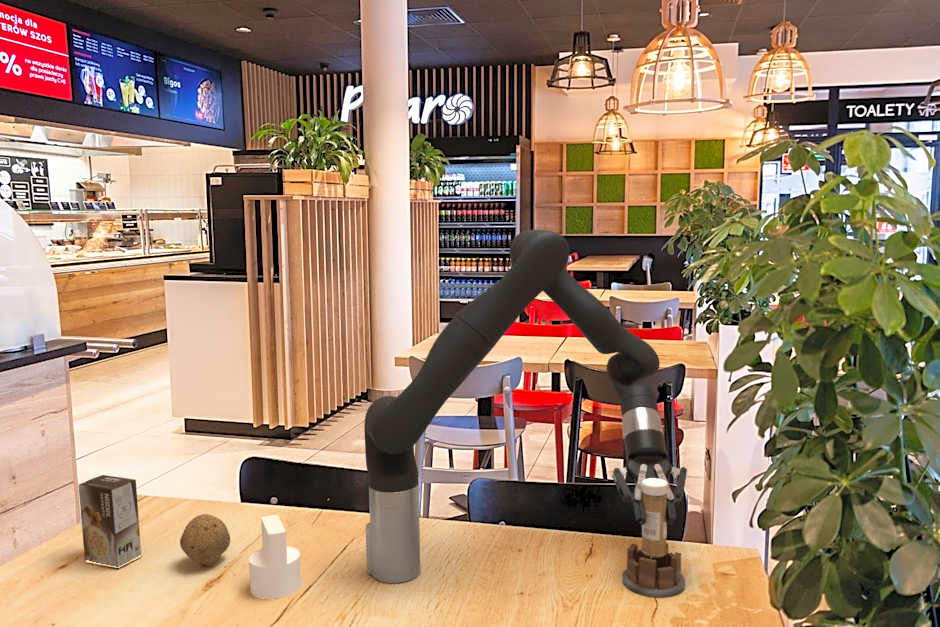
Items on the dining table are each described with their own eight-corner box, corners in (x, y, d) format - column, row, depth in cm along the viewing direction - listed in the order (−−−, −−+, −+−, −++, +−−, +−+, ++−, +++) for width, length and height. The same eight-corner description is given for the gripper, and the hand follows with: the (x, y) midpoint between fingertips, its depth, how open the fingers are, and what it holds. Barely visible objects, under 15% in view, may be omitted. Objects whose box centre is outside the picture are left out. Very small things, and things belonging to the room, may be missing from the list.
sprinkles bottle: (672, 554, 140) (673, 482, 138) (654, 560, 137) (655, 487, 136) (653, 545, 144) (654, 475, 142) (635, 551, 141) (636, 480, 140)
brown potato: (171, 571, 148) (167, 521, 147) (199, 552, 157) (196, 504, 155) (212, 577, 146) (209, 526, 145) (239, 557, 154) (236, 508, 153)
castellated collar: (614, 589, 139) (614, 556, 138) (633, 564, 148) (633, 534, 148) (676, 602, 134) (677, 569, 133) (691, 576, 143) (692, 545, 142)
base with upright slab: (247, 582, 144) (244, 519, 142) (296, 572, 147) (293, 511, 146) (254, 603, 135) (250, 537, 134) (305, 593, 139) (303, 529, 137)
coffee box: (143, 557, 155) (138, 479, 153) (118, 570, 149) (112, 489, 147) (108, 550, 158) (103, 473, 156) (82, 563, 153) (76, 483, 151)
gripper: (608, 427, 145) (619, 514, 135) (685, 426, 145) (701, 513, 135) (603, 446, 151) (613, 531, 141) (677, 446, 151) (693, 530, 141)
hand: (656, 522), depth 138 cm, fingers closed on sprinkles bottle, 4 cm apart
